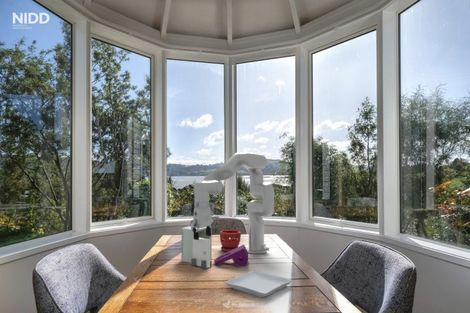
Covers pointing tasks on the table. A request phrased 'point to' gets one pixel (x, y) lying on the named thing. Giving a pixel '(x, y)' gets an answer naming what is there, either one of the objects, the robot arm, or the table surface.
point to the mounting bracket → (234, 256)
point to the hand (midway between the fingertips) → (202, 237)
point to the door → (201, 251)
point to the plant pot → (229, 243)
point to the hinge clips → (203, 263)
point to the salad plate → (258, 283)
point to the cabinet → (188, 242)
